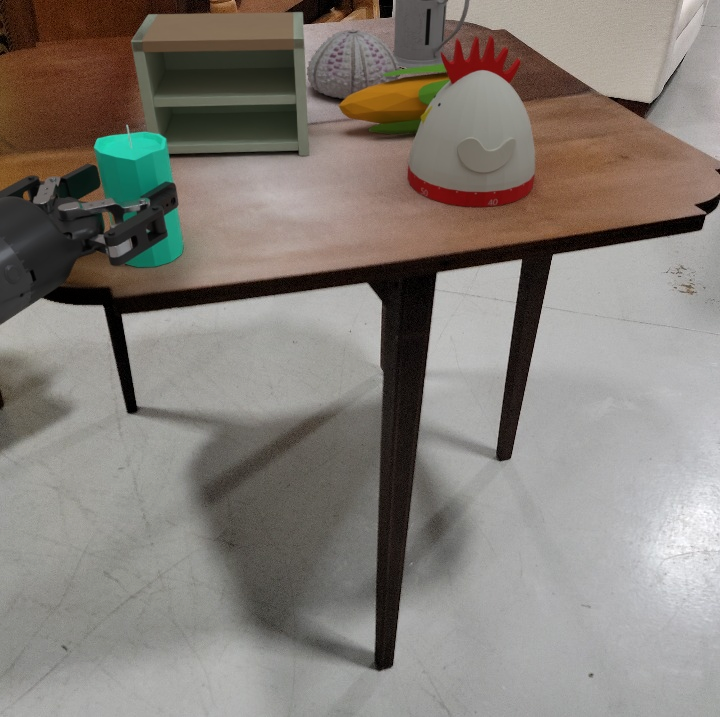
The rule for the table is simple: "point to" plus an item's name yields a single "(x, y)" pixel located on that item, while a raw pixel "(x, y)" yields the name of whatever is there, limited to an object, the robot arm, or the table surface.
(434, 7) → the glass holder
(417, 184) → the kitchen timer
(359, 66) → the sea urchin shell
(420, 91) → the corn
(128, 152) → the candle
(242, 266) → the table surface
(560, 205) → the table surface
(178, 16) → the rack
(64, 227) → the robot arm
